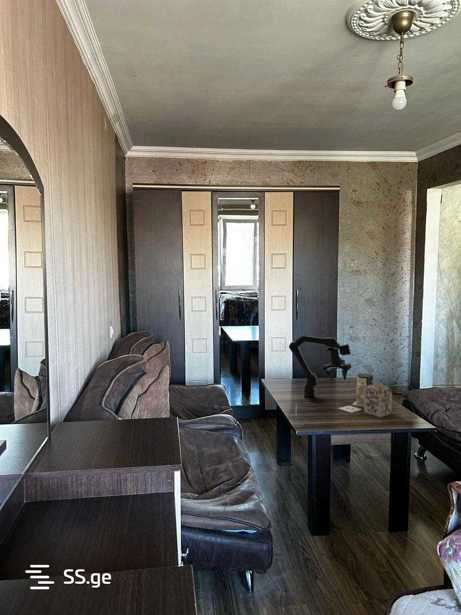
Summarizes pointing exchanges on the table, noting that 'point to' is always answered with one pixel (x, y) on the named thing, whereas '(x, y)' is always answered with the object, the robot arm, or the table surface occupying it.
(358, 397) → the birch block
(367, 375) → the coffee can
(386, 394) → the decorative jar
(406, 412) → the table surface
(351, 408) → the white tile
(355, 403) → the coaster
